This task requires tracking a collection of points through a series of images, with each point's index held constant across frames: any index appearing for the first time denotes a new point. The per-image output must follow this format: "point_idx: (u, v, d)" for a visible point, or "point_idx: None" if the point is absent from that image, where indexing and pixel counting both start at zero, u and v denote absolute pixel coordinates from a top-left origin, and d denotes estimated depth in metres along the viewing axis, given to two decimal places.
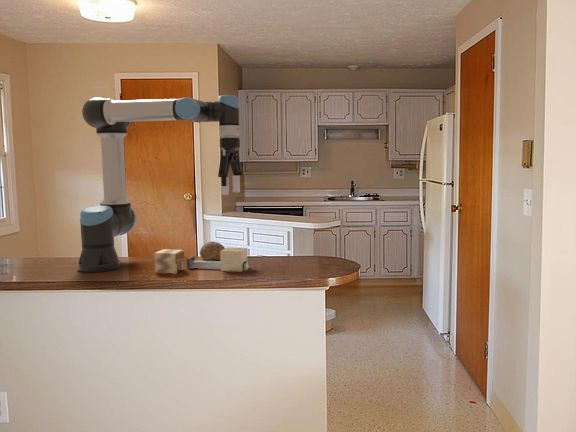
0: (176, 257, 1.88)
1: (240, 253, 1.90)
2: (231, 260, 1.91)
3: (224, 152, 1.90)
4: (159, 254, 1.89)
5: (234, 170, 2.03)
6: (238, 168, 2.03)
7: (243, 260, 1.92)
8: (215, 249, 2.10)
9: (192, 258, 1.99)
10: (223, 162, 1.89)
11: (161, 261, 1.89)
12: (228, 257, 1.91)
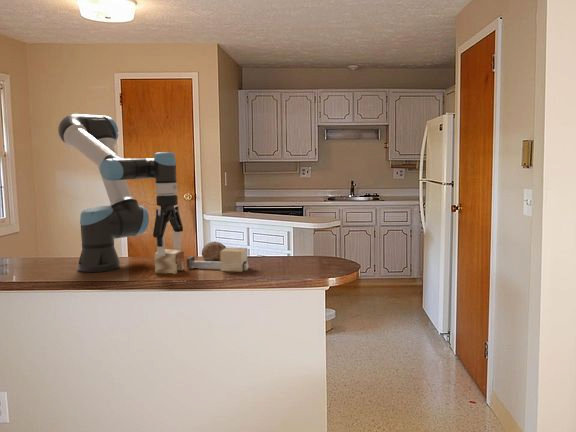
0: (176, 257, 1.88)
1: (240, 253, 1.90)
2: (231, 260, 1.91)
3: (159, 211, 1.83)
4: None
5: (174, 227, 1.96)
6: (178, 224, 1.97)
7: (243, 260, 1.92)
8: (217, 249, 2.10)
9: (192, 258, 1.99)
10: (158, 222, 1.82)
11: (161, 261, 1.89)
12: (228, 257, 1.91)
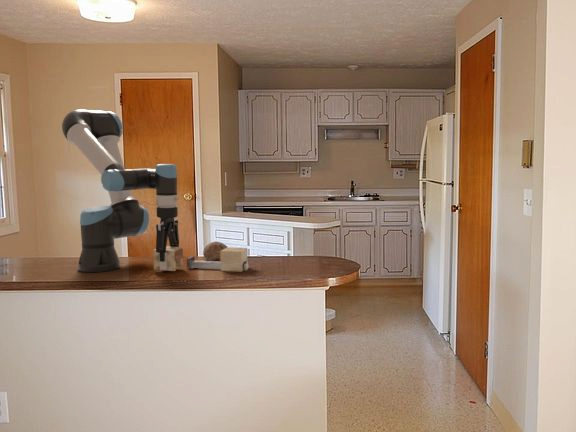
0: (175, 254, 1.88)
1: (240, 253, 1.90)
2: (231, 260, 1.91)
3: (159, 227, 1.84)
4: None
5: (171, 241, 1.95)
6: (175, 240, 1.96)
7: (243, 260, 1.92)
8: (219, 249, 2.10)
9: (192, 258, 1.99)
10: (159, 238, 1.85)
11: None
12: (228, 257, 1.91)
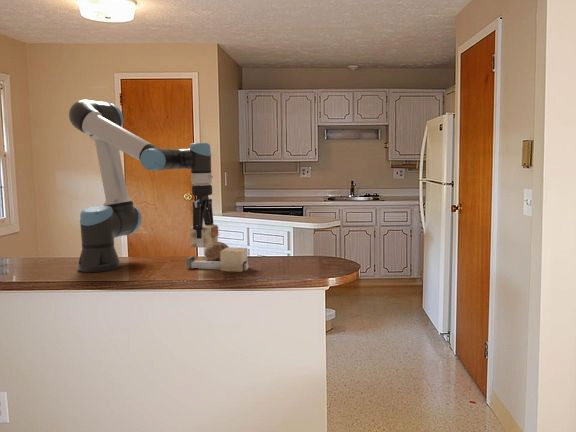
0: (211, 231, 1.92)
1: (240, 253, 1.90)
2: (231, 260, 1.91)
3: (195, 204, 1.88)
4: None
5: (206, 220, 1.99)
6: (210, 218, 1.99)
7: (243, 260, 1.92)
8: (220, 249, 2.09)
9: (192, 258, 1.99)
10: (196, 215, 1.88)
11: None
12: (228, 257, 1.91)
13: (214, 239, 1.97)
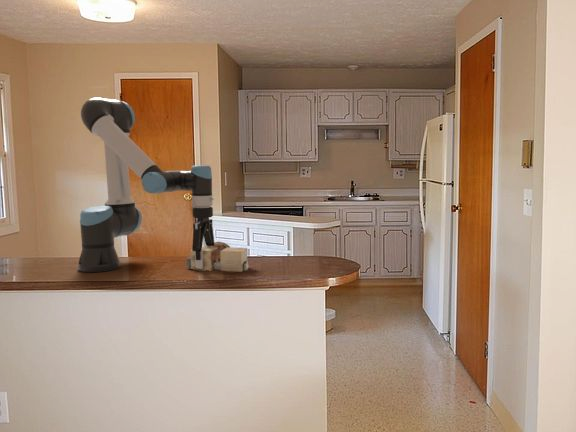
0: (212, 254, 1.93)
1: (240, 253, 1.90)
2: (231, 260, 1.91)
3: (196, 226, 1.89)
4: None
5: (207, 240, 2.00)
6: (211, 238, 2.01)
7: (243, 260, 1.92)
8: (222, 249, 2.09)
9: None
10: (196, 236, 1.89)
11: None
12: (228, 257, 1.91)
13: None
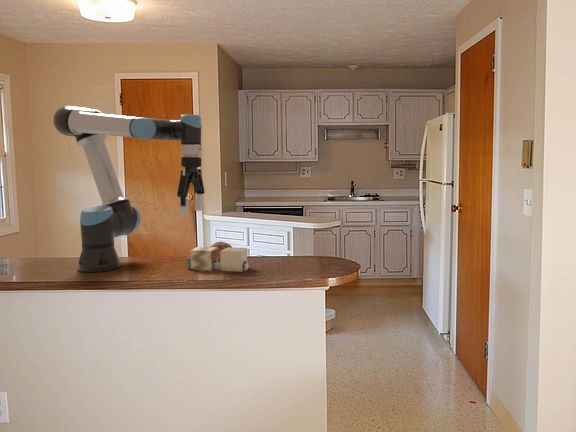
0: (212, 254, 1.93)
1: (240, 253, 1.90)
2: (231, 260, 1.91)
3: (183, 172, 1.89)
4: (195, 251, 1.93)
5: (196, 189, 2.02)
6: (200, 187, 2.02)
7: (243, 260, 1.92)
8: None
9: None
10: (182, 182, 1.88)
11: (197, 259, 1.93)
12: (228, 257, 1.91)
13: None
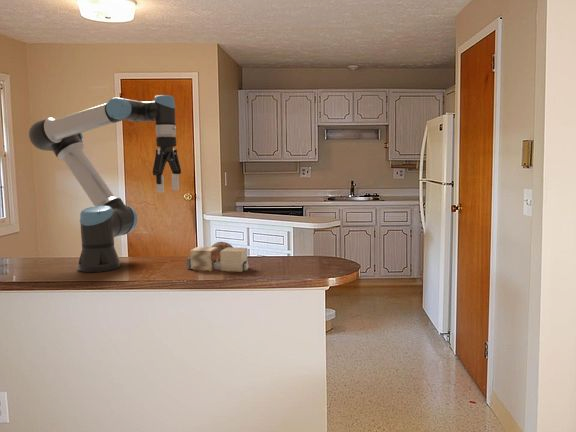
0: (212, 254, 1.93)
1: (240, 253, 1.90)
2: (231, 260, 1.91)
3: (158, 151, 1.93)
4: (195, 251, 1.93)
5: (173, 169, 2.07)
6: (177, 167, 2.07)
7: (243, 260, 1.92)
8: None
9: None
10: (157, 161, 1.93)
11: (197, 259, 1.93)
12: (228, 257, 1.91)
13: None
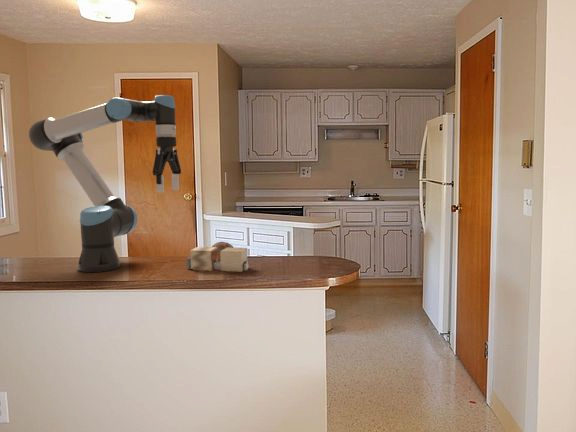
0: (212, 254, 1.93)
1: (240, 253, 1.90)
2: (231, 260, 1.91)
3: (158, 151, 1.93)
4: (195, 251, 1.93)
5: (173, 169, 2.07)
6: (177, 167, 2.07)
7: (243, 260, 1.92)
8: None
9: None
10: (157, 161, 1.93)
11: (197, 259, 1.93)
12: (228, 257, 1.91)
13: None
